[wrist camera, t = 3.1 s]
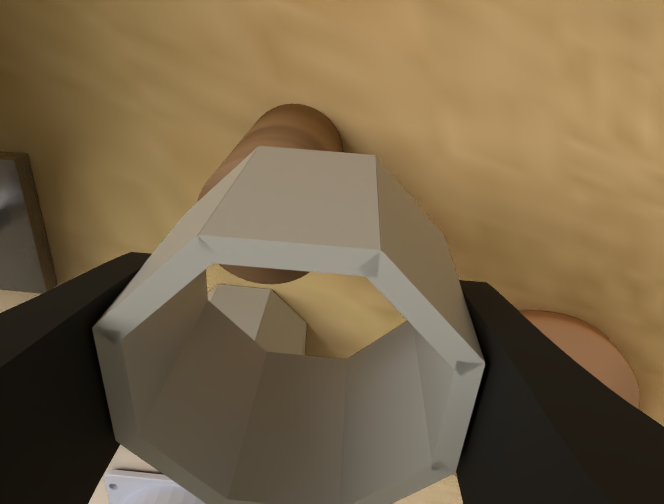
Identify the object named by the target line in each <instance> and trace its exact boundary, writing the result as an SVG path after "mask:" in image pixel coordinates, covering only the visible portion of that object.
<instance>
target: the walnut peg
mask: <svg viewBox="0 0 664 504" xmlns="http://www.w3.org/2000/svg"><path fill="white" fill-rule="evenodd" d="M258 146H268V147H281V148H293V149H306V150H318V151H331V152H343V145H342V141H341V138H340V135H339V133H338V131H337V129H336V127H335V126H334V124H333V123H332V122H331V121H330V120H329V119H328V118H327V117H326V116H325V115H324V114H322V113H321V112H319V111H318V110H316V109H314V108H311V107H309V106H305V105H300V104H286V105H281V106H278V107H275V108H273V109H271V110H270V111H268V112H266V113H265V114H264V115H263V116H262V117H261V118H260V119H259V120H258V121H257V122H256V123H255V125H254V126H253V127H252V128H251V129H250V131H249V132H248V133H247V134H246V135H245V137H244V138H243V139H242V140H241V141H240V143H239V144H238V145H237V146H236V147H235V149H234V150H233V151H232V152H231V153H230V155H229V156H228V157H227V158H226V159H225V161H224V162H223V163H222V164H221V165H220V167H219V168H218V169H217V170H216V172H215V173H214V174H213V175H212V176H211V178H210V179H209V180H208V181H207V183H206V184H205V186H204V187H203V189H202V191H201V193H200V195H199V198H198V201H199V200H200V199H201V198H202V197H204V196H205V195H206V194H207V193H208V192H209V191H210V190H211V189H212V188H213V187H214V186H216V185H217V184H218V183H219V182H220V181H221V180H222V179H223V178H224V177H225V176H226V175H228V174H229V173H230V172H231V171H232V170H233V169H234V168H235V167H236V166H237V165H238V164H240V163H241V162H242V161H243V160H244V159H245V158H246V157H247V156H248V155H249V154H251V153H252V152H253V151H254V150H255V149H256V148H257V147H258ZM198 201H197V202H198ZM219 265H220V266H221V267H223V268H224V269H225V270H227V271H228V272H230V273H231V274H233V275H235V276H237V277H239V278H242V279H244V280H247V281H251V282H255V283H261V284H281V283H286V282H290V281H293V280H296V279H298V278H300V277H303V276H304V275H306V274H308V273H309V271H297V270H285V269H274V268H262V267H250V266H239V265H227V264H219Z"/></svg>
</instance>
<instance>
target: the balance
mask: <svg viewBox="0 0 664 504" xmlns="http://www.w3.org/2000/svg"><path fill="white" fill-rule="evenodd" d="M56 285H57V281H56V276H55V272H54V268H53V263H52V259H51V255H50V250H49V246H48V241H47V237H46V233H45V228H44V224H43V220H42V215H41V211H40V206H39V202H38V198H37V193H36V189H35V185H34V180H33V176H32V171H31V167H30V163H29V158H28V154H19V153H8V152H0V289H1V290H11V291H22V292H32V293H45V292H47V291H49V290H51V289H53V288H54V287H55V286H56Z"/></svg>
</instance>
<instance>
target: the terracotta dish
mask: <svg viewBox="0 0 664 504" xmlns="http://www.w3.org/2000/svg"><path fill="white" fill-rule="evenodd" d="M519 312H520V313H521V314H522V315H524V316H525V317H526V318H527V319H528V320H529V321H530V322H531V323H532V324H533V325H534V326H536V327H537V328H538V329H539V330H540V331H541V332H542V333H543V334H544V335H546V336H547V337H548V338H549V339H550V340H551V341H552V342H553V343H555V344H556V345H557V346H558V347H559V348H560V349H561V350H563V351H564V352H565V353H566V354H567V355H569V356H570V357H571V358H572V359H573V360H575V361H576V362H577V363H578V364H579V365H581V366H582V367H583V368H584V369H586V370H587V371H588V372H589V373H591V374H592V375H593V376H595V377H596V378H597V379H598V380H600V381H601V382H602V383H603V384H605V385H606V386H607V387H608V388H610V389H611V390H612V391H614V392H615V393H616V394H618V395H619V396H620V397H622V398H623V399H625V400H626V401H627V402H629V403H630V404H632V405H633V406H634V407H636V408H637V409H639V402H640V393H639V387H638V383H637V380H636V377H635V375H634V373H633V371H632V370H631V368H630V366H629V365H628V363H627V362H626V360H625V359H624V357H623V356H622V355H621V353H620V352H619V350H618V349H617V347H616V346H615V345H614V344H613V343H612V342H611V340H610V339H609V338H608V337H607V336H606V335H604V334H603V333H602V332H601V331H599V330H598V329H597V328H595V327H593V326H591V325H590V324H588V323H586V322H584V321H581V320H579V319H577V318H574V317H571V316H567V315H564V314H560V313H554V312H547V311H519ZM453 475H455V476H457V474H456V473H454V474H453Z"/></svg>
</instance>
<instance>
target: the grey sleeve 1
mask: <svg viewBox="0 0 664 504" xmlns="http://www.w3.org/2000/svg"><path fill="white" fill-rule="evenodd" d="M207 295H208V300H209V301H210V302H211V303H212V304H213V305H214V306H216V307H217V308H218V309H219V310H220V311H221V312H222V313H223V314H225V315H226V316H227V317H228V318H229V319H230V320H231V321H233V322H234V323H235V324H236V325H237V326H238V327H239V328H241V329H242V330H243V331H244V332H245V333H246V334H247V335H249V336H250V337H251V338H252V339H253V340H254V341H255V342H257V343H258V344H259V345H260V346H261V347H262V348H263V349H265V350H266V351H267V352H274V353H285V354H297V355H305V345H306V327H307V323H306V322H305V321H304V320H303V319H302V318H301V317H300V316H299V315H298V314H297V313H296V312H294V311H293V310H292V309H291V308H290V307H289V306H288V305H287V304H286V303H285V302H284V301H283V300H282V299H281V298H280V297H279V296H278V295H277V294H276V293H275V292H274V291H272V290H271V289H263V288H252V287H242V286H231V285H220V284H218V285H217V286H216V287H215V288H213V289H212V290H211V291H210V292H208V293H207Z"/></svg>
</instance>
